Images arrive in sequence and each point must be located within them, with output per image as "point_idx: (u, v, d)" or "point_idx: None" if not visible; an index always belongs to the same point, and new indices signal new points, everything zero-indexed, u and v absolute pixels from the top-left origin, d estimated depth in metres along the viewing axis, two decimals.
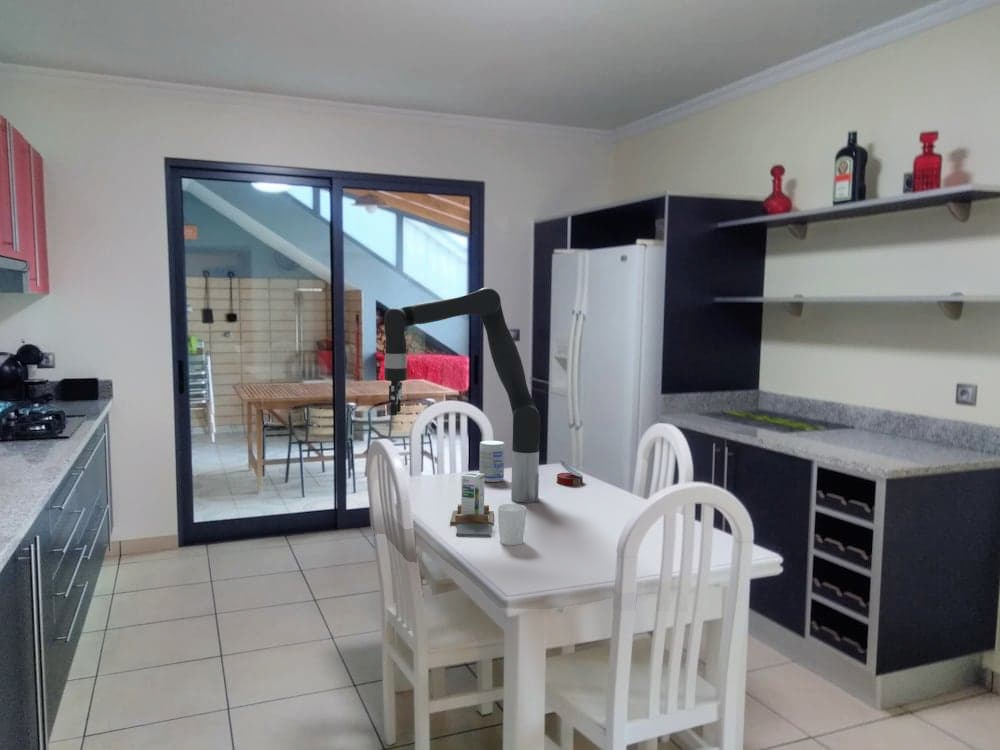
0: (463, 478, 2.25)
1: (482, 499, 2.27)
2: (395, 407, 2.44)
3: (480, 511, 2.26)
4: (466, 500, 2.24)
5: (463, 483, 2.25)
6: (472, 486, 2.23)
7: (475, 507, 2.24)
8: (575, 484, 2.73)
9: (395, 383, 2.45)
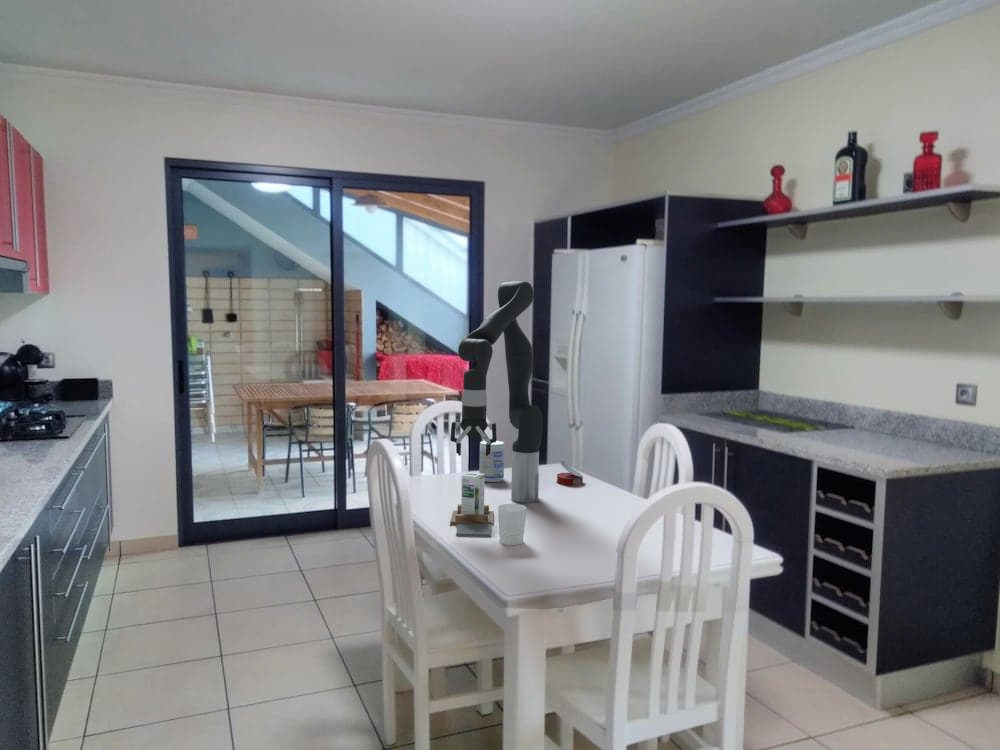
0: (463, 478, 2.25)
1: (482, 499, 2.27)
2: None
3: (480, 511, 2.26)
4: (466, 500, 2.24)
5: (463, 483, 2.25)
6: (472, 486, 2.23)
7: (475, 507, 2.24)
8: (575, 484, 2.73)
9: None
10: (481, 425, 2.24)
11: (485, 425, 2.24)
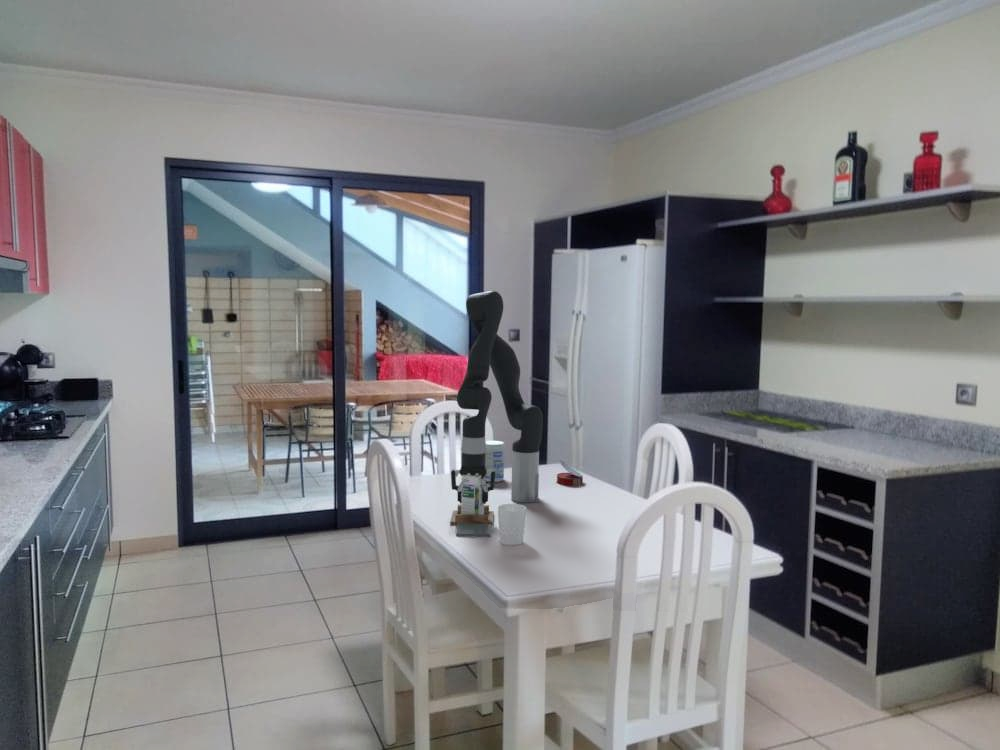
0: (463, 478, 2.24)
1: (482, 499, 2.27)
2: None
3: (480, 511, 2.26)
4: (466, 500, 2.24)
5: (463, 483, 2.25)
6: (472, 486, 2.23)
7: (475, 507, 2.24)
8: (575, 484, 2.73)
9: None
10: (480, 472, 2.25)
11: (484, 472, 2.25)
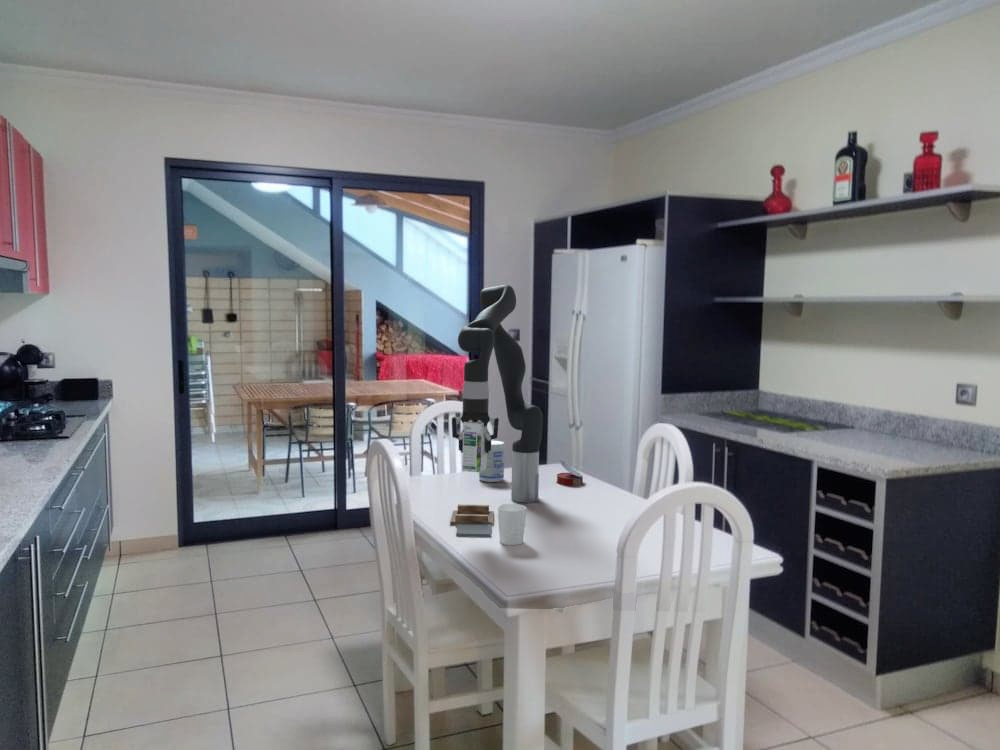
0: (465, 425, 2.11)
1: (485, 448, 2.13)
2: None
3: (482, 461, 2.12)
4: (468, 448, 2.11)
5: (465, 430, 2.11)
6: (474, 433, 2.10)
7: (477, 456, 2.10)
8: (575, 484, 2.73)
9: None
10: (483, 419, 2.11)
11: (487, 419, 2.11)
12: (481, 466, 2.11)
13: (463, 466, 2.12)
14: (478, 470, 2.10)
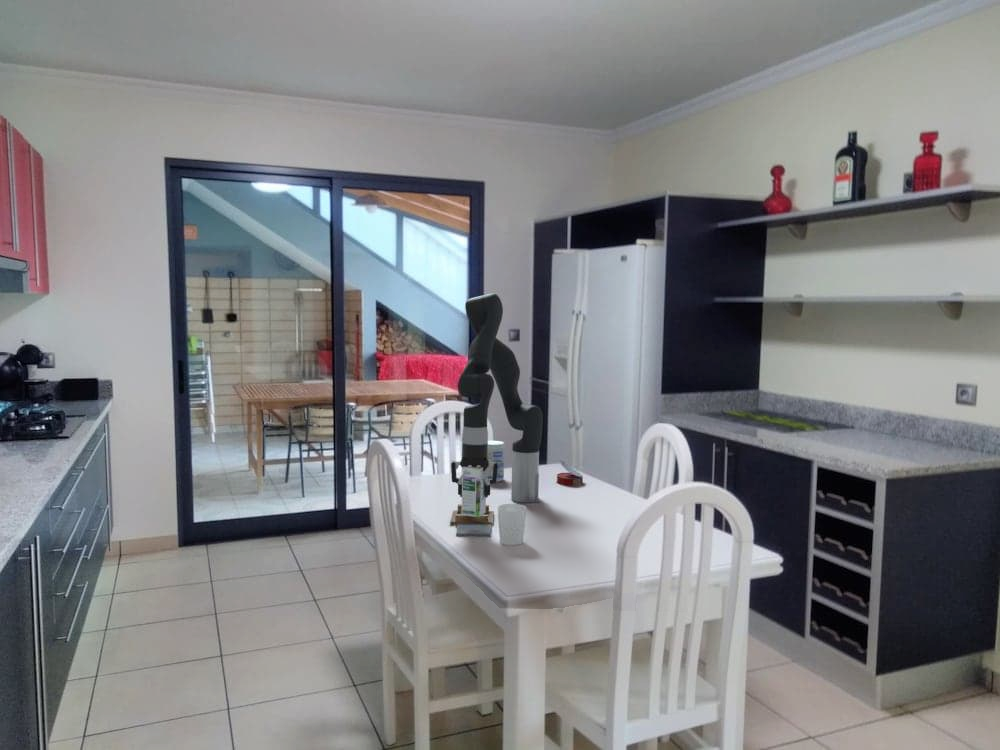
0: (464, 470, 2.12)
1: (484, 492, 2.15)
2: None
3: (481, 505, 2.13)
4: (467, 493, 2.12)
5: (464, 475, 2.12)
6: (473, 478, 2.11)
7: (477, 501, 2.11)
8: (575, 484, 2.73)
9: (487, 459, 2.14)
10: (482, 464, 2.13)
11: (486, 464, 2.13)
12: (480, 511, 2.12)
13: (462, 510, 2.13)
14: (477, 515, 2.11)
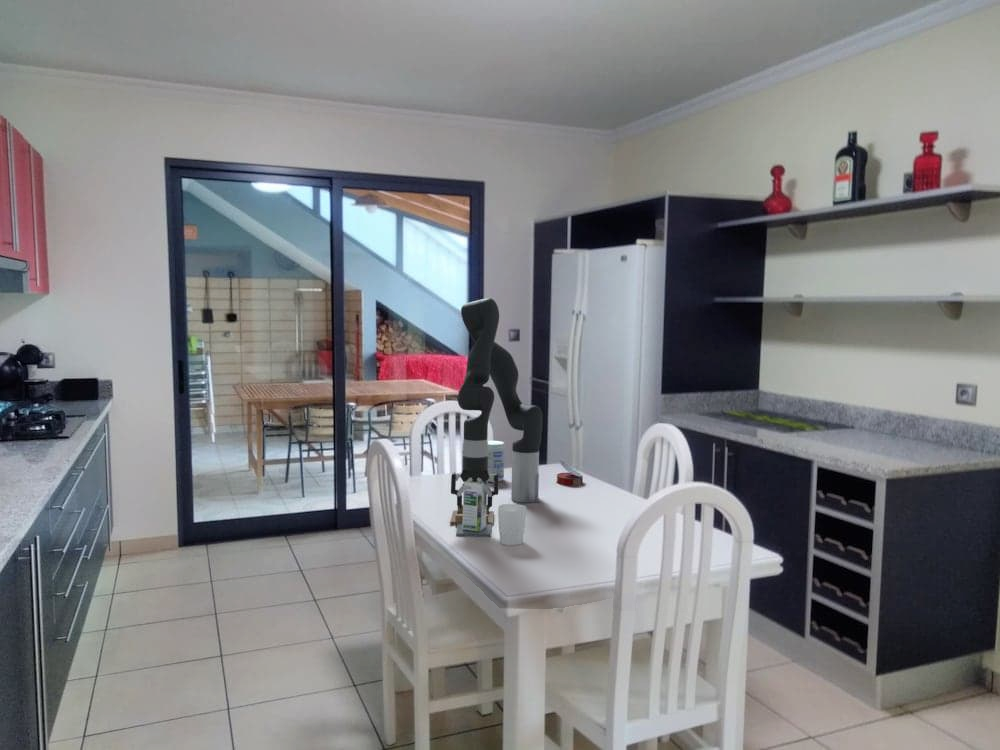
0: (465, 485, 2.12)
1: (485, 507, 2.15)
2: None
3: (482, 520, 2.14)
4: (468, 508, 2.12)
5: (465, 490, 2.13)
6: (475, 493, 2.12)
7: (478, 516, 2.12)
8: (575, 484, 2.73)
9: None
10: (483, 476, 2.13)
11: (487, 476, 2.13)
12: (481, 525, 2.13)
13: (463, 525, 2.13)
14: (478, 529, 2.12)
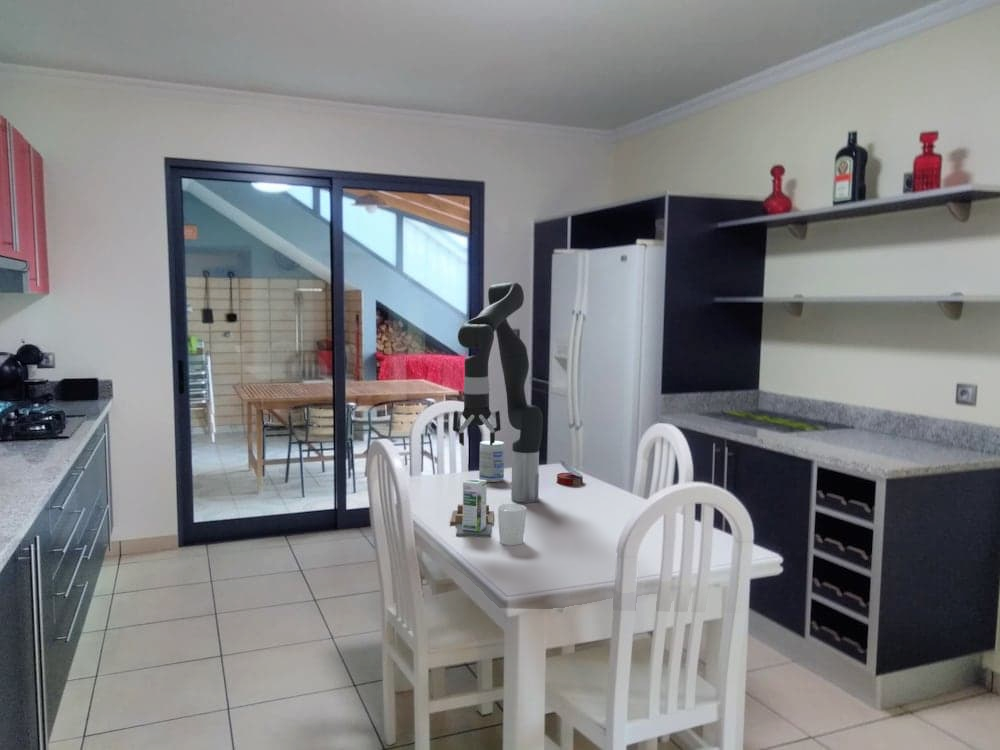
0: (464, 485, 2.12)
1: (484, 507, 2.15)
2: None
3: (482, 520, 2.14)
4: (468, 508, 2.12)
5: (464, 490, 2.13)
6: (474, 493, 2.12)
7: (478, 516, 2.12)
8: (575, 484, 2.73)
9: (489, 409, 2.17)
10: (484, 413, 2.16)
11: (488, 413, 2.16)
12: (481, 525, 2.13)
13: (463, 525, 2.13)
14: (478, 529, 2.12)
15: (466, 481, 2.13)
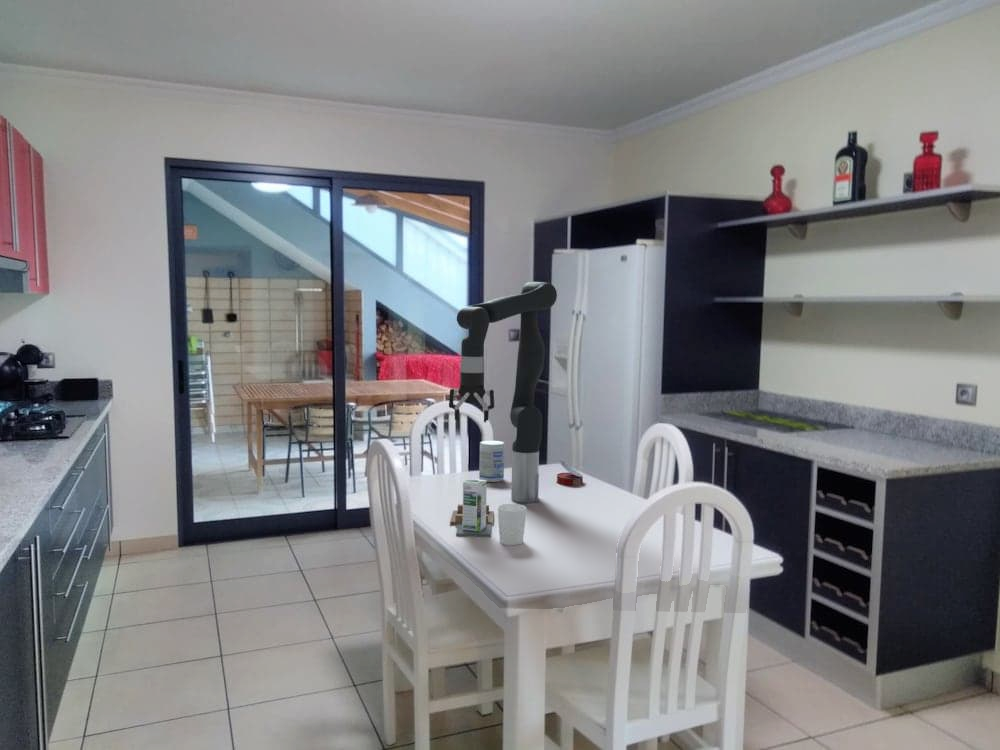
0: (464, 485, 2.12)
1: (484, 507, 2.15)
2: None
3: (482, 520, 2.14)
4: (468, 508, 2.12)
5: (464, 490, 2.13)
6: (474, 493, 2.12)
7: (478, 516, 2.12)
8: (575, 484, 2.73)
9: None
10: (479, 392, 2.28)
11: (483, 392, 2.28)
12: (481, 525, 2.13)
13: (463, 525, 2.13)
14: (478, 529, 2.12)
15: (466, 481, 2.13)
